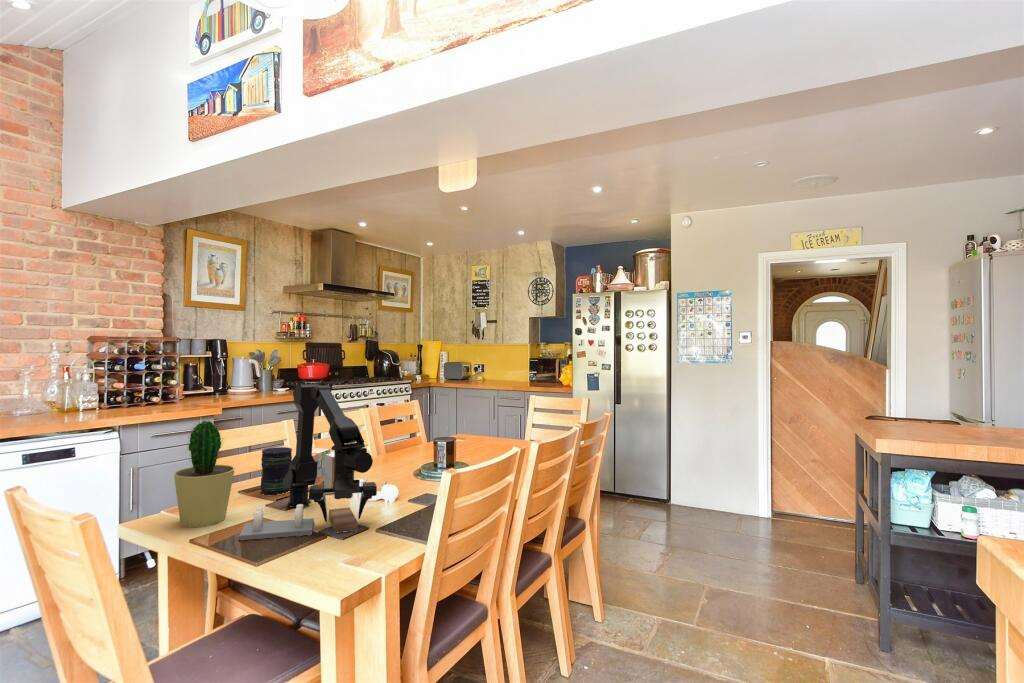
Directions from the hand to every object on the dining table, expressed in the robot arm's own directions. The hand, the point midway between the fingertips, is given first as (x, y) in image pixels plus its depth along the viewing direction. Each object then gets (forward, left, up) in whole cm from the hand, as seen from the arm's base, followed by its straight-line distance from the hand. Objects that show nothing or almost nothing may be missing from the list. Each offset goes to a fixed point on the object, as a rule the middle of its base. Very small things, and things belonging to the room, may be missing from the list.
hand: (342, 520), depth 148 cm
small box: (-38, -2, -2) cm, 38 cm away
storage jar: (-40, -23, -1) cm, 46 cm away
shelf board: (0, 0, -2) cm, 2 cm away
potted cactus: (-13, -39, -1) cm, 41 cm away
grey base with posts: (+2, -17, -1) cm, 17 cm away
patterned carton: (-53, -9, -2) cm, 54 cm away
